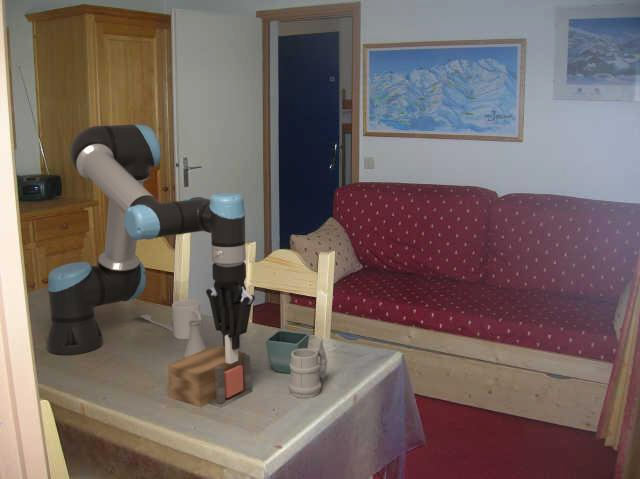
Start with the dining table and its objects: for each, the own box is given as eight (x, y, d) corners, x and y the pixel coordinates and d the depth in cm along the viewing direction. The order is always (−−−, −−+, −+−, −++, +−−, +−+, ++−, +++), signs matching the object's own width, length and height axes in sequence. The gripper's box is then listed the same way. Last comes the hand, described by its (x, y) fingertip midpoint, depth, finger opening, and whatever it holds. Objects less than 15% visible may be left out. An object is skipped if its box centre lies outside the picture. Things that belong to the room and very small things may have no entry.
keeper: (224, 397, 161) (223, 372, 160) (240, 388, 165) (239, 364, 164) (227, 398, 160) (226, 373, 159) (243, 389, 165) (242, 365, 164)
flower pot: (310, 365, 182) (309, 333, 181) (298, 378, 174) (297, 344, 173) (279, 362, 185) (278, 329, 184) (265, 374, 177) (265, 340, 175)
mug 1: (189, 345, 199) (188, 311, 197) (168, 334, 208) (167, 303, 206) (213, 338, 204) (212, 306, 203) (192, 329, 213) (190, 298, 211)
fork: (171, 339, 212) (172, 331, 211) (131, 319, 225) (131, 311, 224) (179, 337, 214) (179, 328, 213) (138, 317, 227) (138, 309, 226)
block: (169, 397, 164) (167, 360, 162) (216, 375, 177) (215, 341, 175) (213, 411, 156) (211, 373, 154) (259, 387, 169) (258, 352, 167)
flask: (204, 362, 186) (202, 326, 184) (178, 360, 187) (176, 324, 185) (213, 352, 193) (212, 318, 191) (188, 351, 194) (187, 316, 192)
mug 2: (282, 393, 165) (281, 345, 163) (313, 378, 174) (313, 332, 172) (306, 401, 161) (306, 352, 158) (338, 385, 170) (337, 338, 167)
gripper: (196, 261, 157) (200, 360, 162) (240, 269, 150) (242, 372, 155) (219, 255, 163) (222, 351, 168) (262, 263, 156) (264, 362, 161)
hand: (231, 361), depth 161 cm, fingers closed
